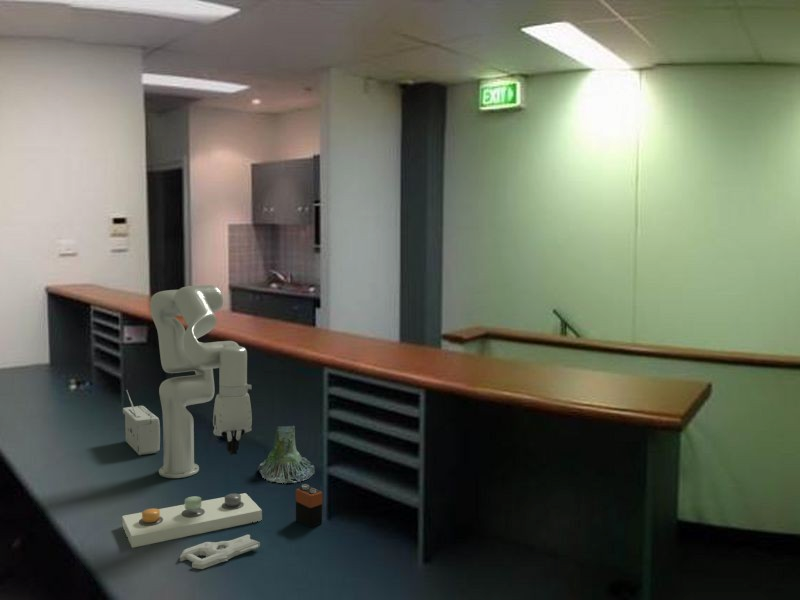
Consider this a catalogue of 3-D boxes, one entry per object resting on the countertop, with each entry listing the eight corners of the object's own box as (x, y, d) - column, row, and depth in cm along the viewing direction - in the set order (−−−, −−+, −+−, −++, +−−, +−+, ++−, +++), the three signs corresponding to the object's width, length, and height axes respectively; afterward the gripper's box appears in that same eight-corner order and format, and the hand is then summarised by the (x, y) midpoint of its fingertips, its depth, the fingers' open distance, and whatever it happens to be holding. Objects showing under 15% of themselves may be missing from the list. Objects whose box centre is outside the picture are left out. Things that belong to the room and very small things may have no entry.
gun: (242, 525, 179) (261, 539, 172) (243, 537, 180) (262, 552, 172) (175, 548, 168) (192, 564, 160) (176, 561, 168) (193, 578, 161)
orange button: (140, 517, 182) (140, 510, 182) (157, 514, 185) (157, 507, 184) (143, 523, 179) (143, 516, 178) (161, 520, 181) (161, 513, 181)
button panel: (122, 526, 185) (122, 515, 185) (245, 502, 202) (245, 492, 202) (132, 547, 173) (131, 535, 173) (261, 520, 190) (261, 509, 190)
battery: (307, 516, 194) (307, 481, 193) (322, 523, 189) (323, 488, 188) (294, 520, 191) (295, 485, 190) (310, 528, 186) (310, 492, 185)
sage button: (182, 505, 188) (182, 498, 188) (199, 502, 190) (199, 495, 190) (186, 511, 184) (186, 503, 184) (203, 507, 186) (203, 500, 186)
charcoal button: (222, 502, 194) (222, 495, 193) (238, 499, 196) (238, 492, 196) (227, 507, 190) (227, 500, 190) (242, 504, 192) (242, 497, 192)
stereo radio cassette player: (161, 453, 245) (160, 398, 243) (137, 457, 240) (135, 401, 238) (145, 438, 262) (144, 386, 260) (122, 441, 257) (121, 389, 255)
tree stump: (259, 487, 215) (255, 430, 218) (258, 480, 235) (255, 427, 237) (317, 481, 219) (313, 424, 222) (312, 474, 239) (309, 422, 241)
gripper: (254, 384, 200) (253, 445, 202) (202, 389, 193) (202, 452, 195) (263, 390, 194) (262, 453, 196) (209, 396, 186) (209, 461, 189)
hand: (232, 452), depth 195 cm, fingers closed
